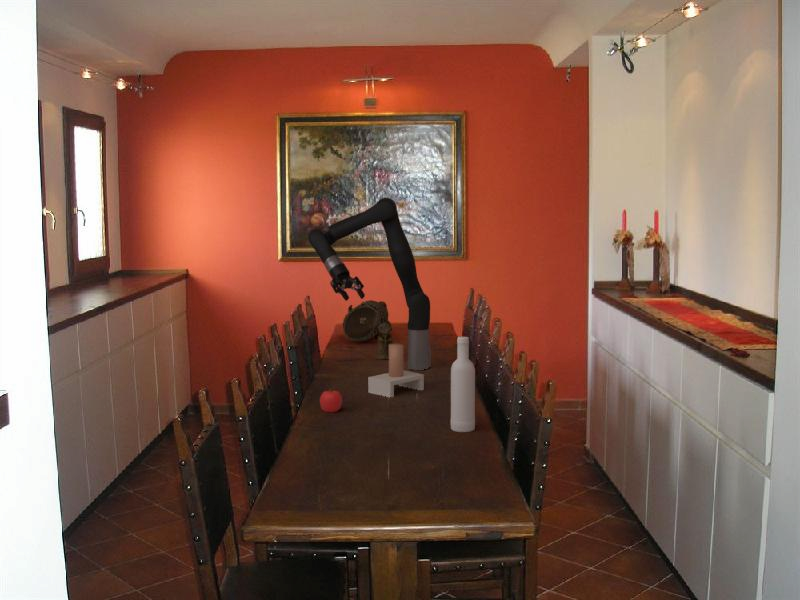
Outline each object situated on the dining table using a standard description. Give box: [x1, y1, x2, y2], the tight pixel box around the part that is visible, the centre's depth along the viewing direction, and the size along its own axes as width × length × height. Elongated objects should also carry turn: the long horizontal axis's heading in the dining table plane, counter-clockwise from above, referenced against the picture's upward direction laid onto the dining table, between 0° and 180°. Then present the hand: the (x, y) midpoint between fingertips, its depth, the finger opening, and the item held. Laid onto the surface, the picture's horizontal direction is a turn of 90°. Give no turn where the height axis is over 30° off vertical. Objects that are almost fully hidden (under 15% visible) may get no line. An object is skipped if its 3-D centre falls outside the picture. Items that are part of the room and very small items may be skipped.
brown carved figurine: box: [374, 322, 394, 361], centre depth 405 cm, size 9×14×18 cm, turn 0°
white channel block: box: [367, 369, 425, 398], centre depth 342 cm, size 18×12×6 cm, turn 135°
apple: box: [319, 388, 343, 413], centre depth 312 cm, size 8×8×8 cm
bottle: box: [450, 336, 476, 433], centre depth 286 cm, size 8×8×30 cm
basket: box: [342, 300, 393, 342], centre depth 459 cm, size 24×22×35 cm
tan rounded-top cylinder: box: [388, 343, 404, 377], centre depth 340 cm, size 6×6×12 cm
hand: (355, 298), depth 364 cm, fingers open, 8 cm apart
